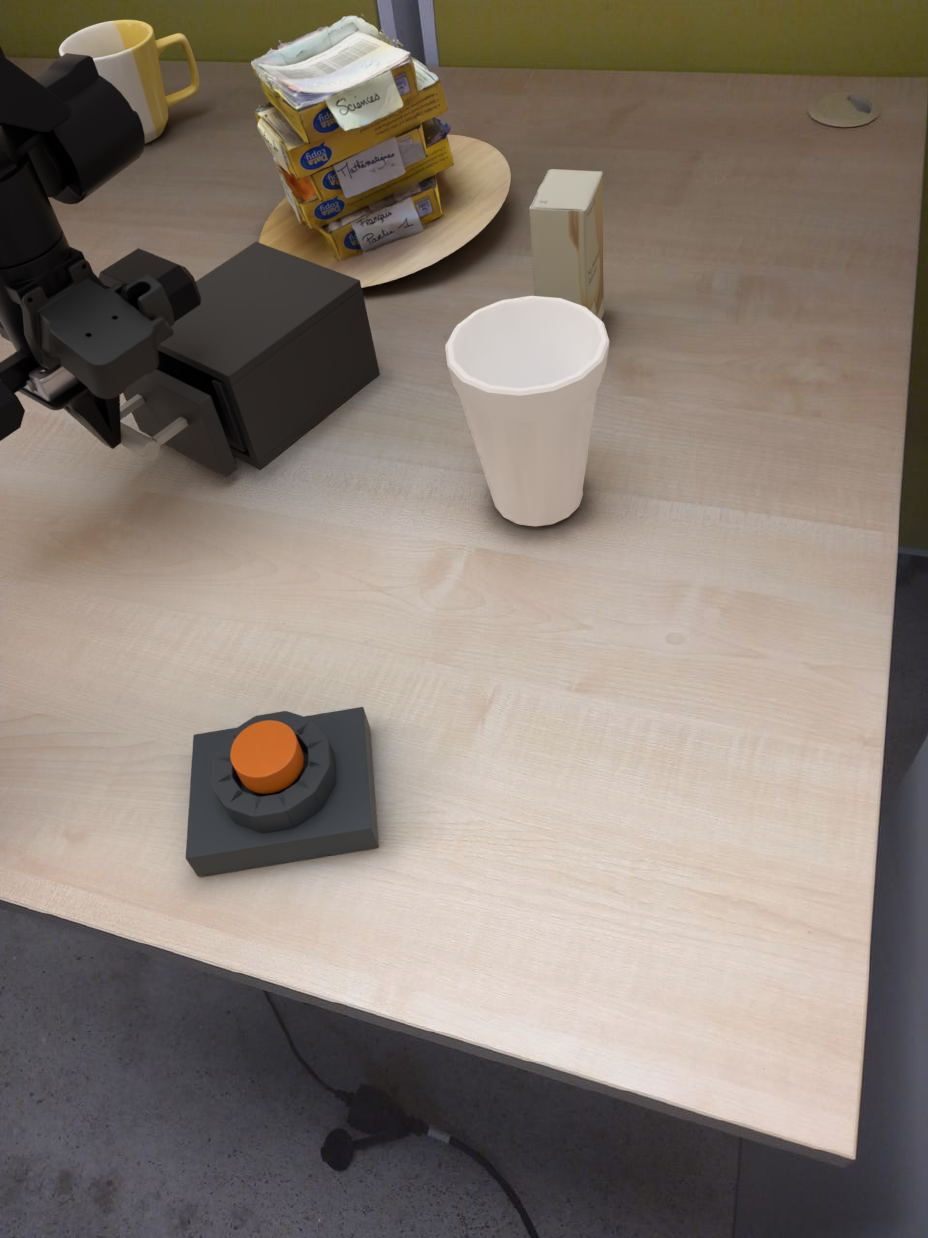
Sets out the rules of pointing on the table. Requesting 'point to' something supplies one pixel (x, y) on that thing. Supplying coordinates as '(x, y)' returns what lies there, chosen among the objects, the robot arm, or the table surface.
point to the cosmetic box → (569, 238)
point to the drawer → (182, 416)
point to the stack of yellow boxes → (369, 157)
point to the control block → (284, 798)
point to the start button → (267, 756)
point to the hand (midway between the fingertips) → (113, 444)
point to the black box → (277, 344)
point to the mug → (134, 66)
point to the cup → (530, 400)
